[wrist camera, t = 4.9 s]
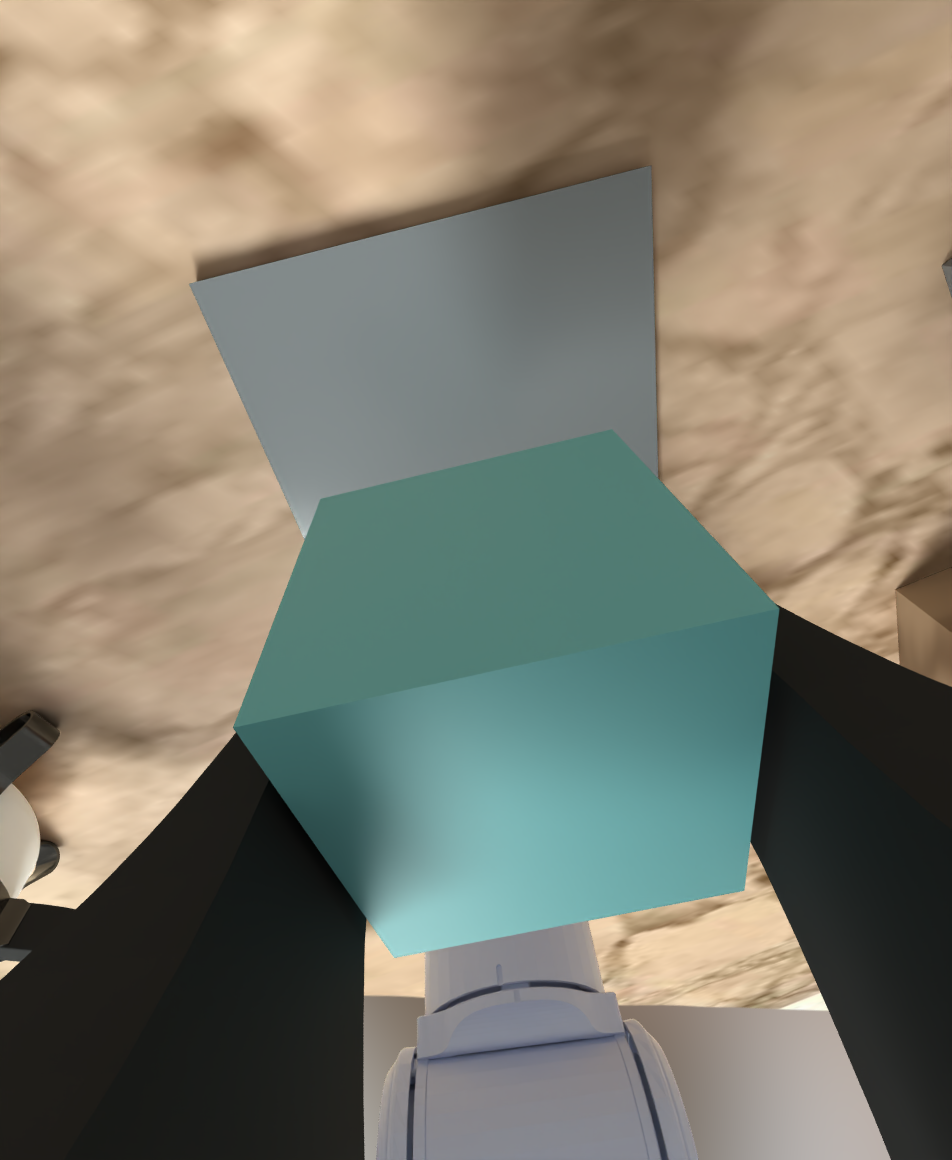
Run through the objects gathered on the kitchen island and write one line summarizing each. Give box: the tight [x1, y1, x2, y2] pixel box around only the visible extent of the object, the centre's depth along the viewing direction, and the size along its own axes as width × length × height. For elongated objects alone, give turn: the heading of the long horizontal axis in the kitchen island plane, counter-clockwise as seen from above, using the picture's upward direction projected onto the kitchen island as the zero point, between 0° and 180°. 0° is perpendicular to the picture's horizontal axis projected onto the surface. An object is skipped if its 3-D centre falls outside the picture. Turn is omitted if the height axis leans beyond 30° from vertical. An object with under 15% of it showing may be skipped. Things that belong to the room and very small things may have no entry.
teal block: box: [233, 429, 779, 958], centre depth 8 cm, size 5×5×5 cm
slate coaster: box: [189, 166, 658, 540], centre depth 17 cm, size 12×12×1 cm
